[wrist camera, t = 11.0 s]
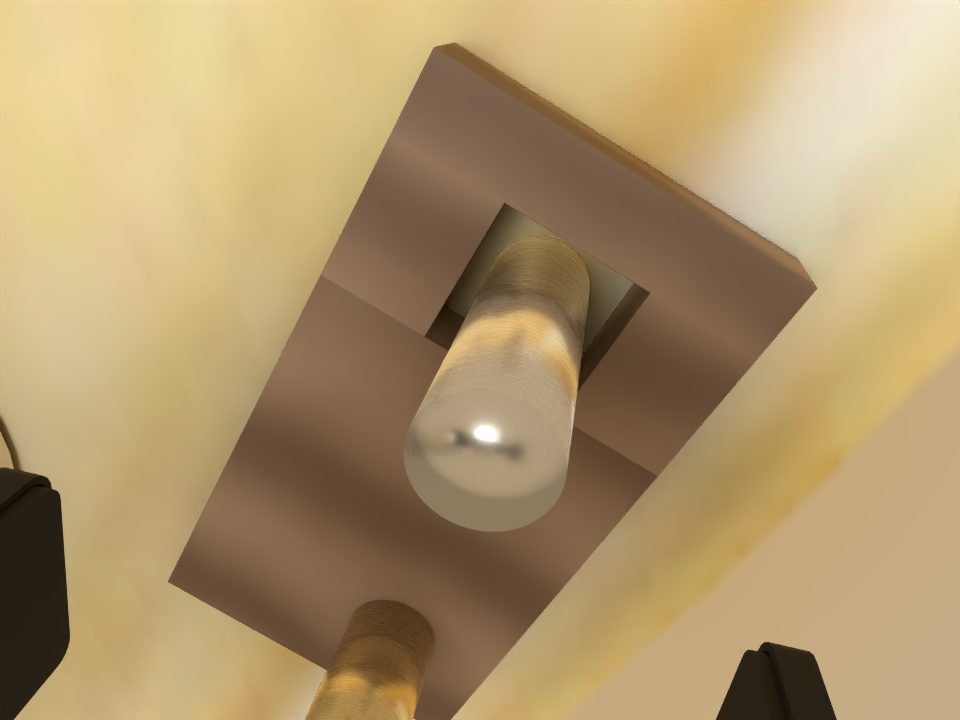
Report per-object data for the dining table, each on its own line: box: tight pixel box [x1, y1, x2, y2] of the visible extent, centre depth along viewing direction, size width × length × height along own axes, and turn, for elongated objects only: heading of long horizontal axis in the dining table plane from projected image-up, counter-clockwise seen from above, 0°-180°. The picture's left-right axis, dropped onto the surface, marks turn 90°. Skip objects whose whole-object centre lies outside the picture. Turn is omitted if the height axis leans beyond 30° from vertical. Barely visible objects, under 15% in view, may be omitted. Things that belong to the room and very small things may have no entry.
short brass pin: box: [305, 600, 435, 720], centre depth 24 cm, size 3×3×6 cm
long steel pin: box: [403, 236, 590, 532], centre depth 19 cm, size 3×3×10 cm
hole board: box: [168, 43, 817, 720], centre depth 24 cm, size 20×11×2 cm, turn 150°
